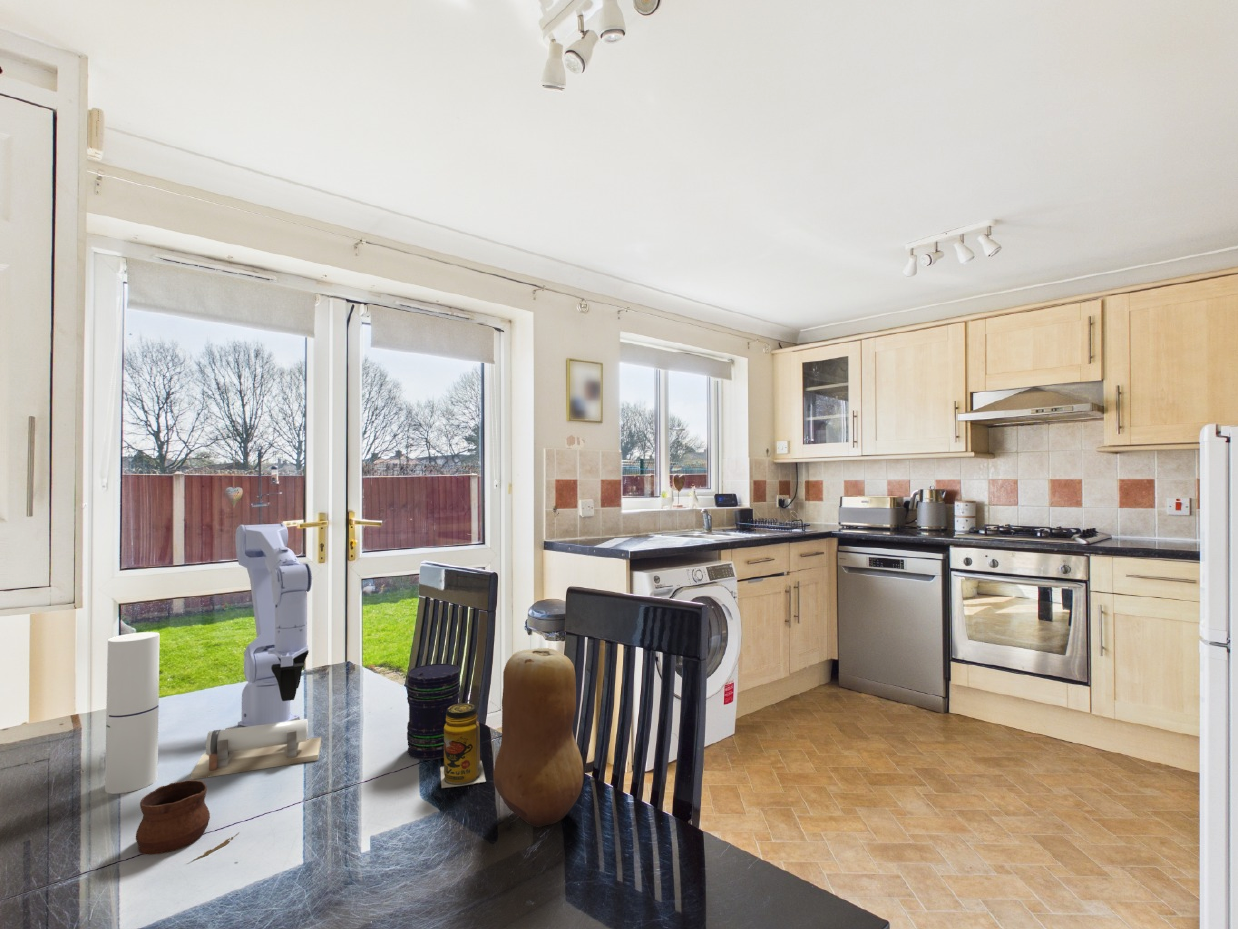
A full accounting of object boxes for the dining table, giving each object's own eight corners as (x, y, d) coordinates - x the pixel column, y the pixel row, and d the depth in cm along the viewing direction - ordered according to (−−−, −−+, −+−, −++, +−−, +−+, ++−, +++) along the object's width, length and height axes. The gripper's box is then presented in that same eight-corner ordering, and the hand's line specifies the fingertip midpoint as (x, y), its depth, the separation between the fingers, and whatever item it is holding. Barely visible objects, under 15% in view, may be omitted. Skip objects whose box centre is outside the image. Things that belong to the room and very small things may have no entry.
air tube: (308, 731, 122) (307, 713, 121) (306, 746, 119) (305, 728, 117) (211, 745, 116) (210, 726, 115) (206, 761, 113) (205, 741, 112)
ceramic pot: (268, 828, 94) (267, 780, 94) (124, 895, 79) (123, 838, 79) (211, 799, 104) (210, 756, 104) (73, 854, 89) (73, 803, 89)
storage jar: (440, 734, 128) (440, 660, 129) (470, 747, 122) (470, 669, 123) (396, 751, 121) (396, 672, 121) (426, 764, 114) (426, 681, 115)
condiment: (441, 789, 105) (441, 716, 106) (440, 768, 113) (440, 700, 114) (486, 783, 107) (485, 711, 108) (481, 762, 115) (481, 696, 116)
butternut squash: (601, 809, 98) (599, 646, 99) (548, 853, 86) (547, 668, 87) (530, 788, 105) (529, 637, 106) (473, 826, 93) (473, 655, 94)
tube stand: (190, 780, 109) (190, 747, 110) (203, 759, 118) (203, 729, 118) (318, 760, 117) (318, 730, 117) (321, 742, 125) (321, 714, 125)
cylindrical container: (128, 795, 104) (131, 642, 105) (93, 791, 106) (96, 640, 106) (167, 775, 111) (169, 632, 112) (134, 772, 113) (136, 631, 113)
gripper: (273, 620, 132) (272, 686, 131) (262, 635, 118) (262, 708, 118) (311, 617, 134) (310, 681, 134) (304, 631, 121) (304, 703, 120)
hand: (290, 694), depth 126 cm, fingers open, 7 cm apart
